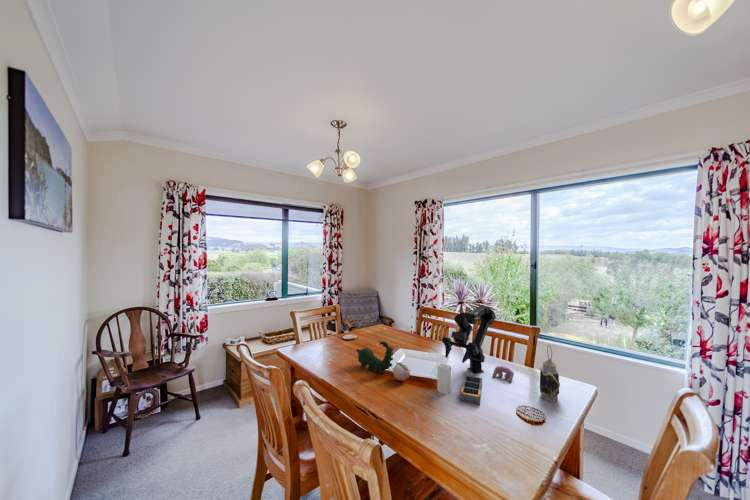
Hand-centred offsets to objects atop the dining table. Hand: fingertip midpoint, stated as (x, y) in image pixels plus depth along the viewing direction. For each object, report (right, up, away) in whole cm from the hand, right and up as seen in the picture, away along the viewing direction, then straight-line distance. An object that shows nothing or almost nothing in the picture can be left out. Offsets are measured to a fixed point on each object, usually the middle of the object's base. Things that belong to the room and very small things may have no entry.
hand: (454, 359), depth 143 cm
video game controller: (+29, -14, +9) cm, 34 cm away
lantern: (+42, -14, -11) cm, 45 cm away
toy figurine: (-41, -13, +20) cm, 48 cm away
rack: (+7, -14, -6) cm, 16 cm away
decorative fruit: (-27, -14, +5) cm, 30 cm away
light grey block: (-6, -14, -5) cm, 16 cm away
